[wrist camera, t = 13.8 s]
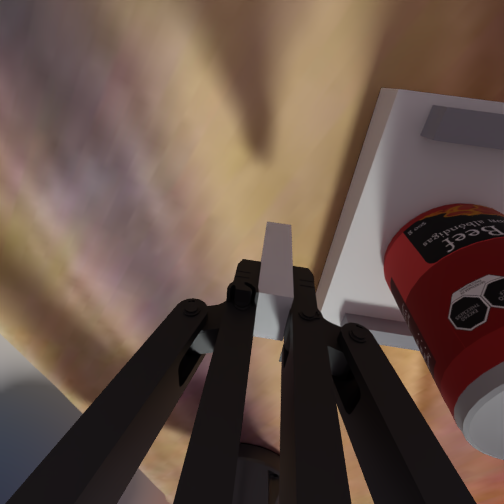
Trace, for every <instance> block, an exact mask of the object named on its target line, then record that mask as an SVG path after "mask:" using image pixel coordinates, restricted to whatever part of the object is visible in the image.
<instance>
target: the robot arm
mask: <svg viewBox="0 0 504 504" xmlns="http://www.w3.org/2000/svg"><path fill="white" fill-rule="evenodd" d="M253 336H255V337H261V338H268V339H274V340H280V341H283V337H284V345H283V348H282V352H281V356H280V360H279V361H280V362H282V369H281V422H280V456H278V455H277V454H275V453H273V452H271V451H269V450H267V449H264V448H261V447H257V446H253V445H247V444H240V436H241V428H242V420H243V412H244V404H245V396H246V388H247V380H248V372H249V364H250V356H251V348H252V340H253ZM212 352H213V355H212V358H211V362H210V366H209V370H208V374H207V377H206V381H205V385H204V389H203V393H202V396H201V400H200V404H199V408H198V411H197V415H196V419H195V423H194V427H193V430H192V434H191V438H190V442H189V446H188V449H187V453H186V457H185V461H184V464H183V468H182V472H181V476H180V480H179V483H178V487H177V491H176V495H175V499H174V502H173V504H351V498H350V491H349V485H348V478H347V472H346V465H345V458H344V452H343V445H342V439H341V432H340V425H339V419H338V412H337V406H338V409H339V412H340V414H341V417H342V420H343V422H344V425H345V427H346V430H347V433H348V435H349V438H350V441H351V443H352V446H353V449H354V451H355V454H356V457H357V459H358V462H359V464H360V467H361V470H362V472H363V475H364V478H365V480H366V483H367V486H368V488H369V491H370V494H371V496H372V499H373V501H374V504H476V502H475V500H474V499H473V497H472V496H471V494H470V492H469V491H468V489H467V487H466V486H465V484H464V482H463V481H462V479H461V478H460V476H459V474H458V473H457V471H456V469H455V468H454V466H453V465H452V463H451V461H450V460H449V458H448V456H447V455H446V453H445V452H444V450H443V448H442V447H441V445H440V443H439V442H438V440H437V438H436V437H435V435H434V434H433V432H432V430H431V429H430V427H429V425H428V424H427V422H426V421H425V419H424V417H423V416H422V414H421V412H420V411H419V409H418V408H417V406H416V404H415V403H414V401H413V399H412V398H411V396H410V394H409V393H408V391H407V390H406V388H405V386H404V385H403V383H402V381H401V380H400V378H399V377H398V375H397V373H396V372H395V370H394V368H393V367H392V365H391V364H390V362H389V360H388V359H387V357H386V355H385V354H384V352H383V350H382V349H381V347H380V346H379V344H378V342H377V341H376V339H375V337H374V336H373V334H372V333H371V332H370V331H369V330H368V329H367V328H366V327H364V326H363V325H360V324H358V323H351V322H350V323H346V324H344V325H343V326H342V327H340V326H338V325H335V324H333V323H331V322H329V321H327V320H326V319H324V318H323V316H322V313H321V312H320V311H319V310H318V307H317V300H316V293H315V286H314V278H313V274H312V273H311V271H310V270H309V269H308V268H303V267H296V266H293V263H292V234H291V225H287V224H281V223H274V222H267V225H266V232H265V238H264V245H263V251H262V258H261V262H259V261H252V260H246V259H243V260H242V261H241V262H240V263H239V264H238V266H237V270H236V274H235V278H234V281H233V282H232V283H230V284H229V286H228V288H227V300H226V301H225V302H223V303H221V304H219V305H213V306H207V305H206V304H205V302H203V301H201V300H200V299H194V298H193V299H186V300H184V301H181V302H180V303H179V304H178V305H177V306H176V307H175V308H174V309H173V310H172V312H171V313H170V314H169V315H168V316H167V317H166V319H165V320H164V321H163V322H162V323H161V324H160V325H159V327H158V328H157V329H156V330H155V331H154V332H153V334H152V335H151V336H150V337H149V338H148V339H147V341H146V342H145V343H144V344H143V345H142V346H141V347H140V349H139V350H138V351H137V352H136V353H135V354H134V356H133V357H132V358H131V359H130V360H129V361H128V362H127V364H126V365H125V366H124V367H123V368H122V369H121V371H120V372H119V373H118V374H117V375H116V376H115V378H114V379H113V380H112V381H111V382H110V383H109V384H108V386H107V387H106V388H105V389H104V390H103V391H102V393H101V394H100V395H99V396H98V397H97V398H96V400H95V401H94V402H93V403H92V404H91V405H90V406H89V408H88V409H87V410H86V411H85V412H84V413H83V415H82V416H81V417H80V418H79V419H78V421H76V423H75V424H74V425H73V426H72V428H70V430H69V431H68V432H67V433H66V434H65V435H64V437H63V438H62V439H61V440H60V441H59V442H58V444H57V445H56V446H55V447H54V448H53V449H52V450H51V452H50V453H49V454H48V455H47V456H46V457H45V459H44V460H43V461H42V462H41V463H40V464H39V465H38V467H37V468H36V469H35V470H34V471H33V473H32V474H31V475H30V476H29V477H28V478H27V479H26V481H25V482H24V483H23V484H22V485H21V486H20V488H19V489H18V490H17V491H16V492H15V493H14V494H13V495H12V497H11V498H10V499H9V500H8V501H7V502H6V504H117V503H118V501H119V499H120V497H121V496H122V494H123V492H124V491H125V489H126V487H127V485H128V484H129V482H130V481H131V479H132V477H133V476H134V474H135V472H136V471H137V469H138V467H139V466H140V464H141V462H142V461H143V459H144V457H145V456H146V454H147V452H148V450H149V449H150V447H151V445H152V444H153V442H154V440H155V439H156V437H157V435H158V434H159V432H160V430H161V429H162V427H163V425H164V424H165V422H166V420H167V419H168V417H169V415H170V414H171V412H172V410H173V409H174V407H175V405H176V404H177V402H178V400H179V398H180V397H181V395H182V393H183V392H184V390H185V388H186V387H187V385H188V383H189V382H190V380H191V378H192V377H193V375H194V373H195V372H196V370H197V368H198V367H199V365H200V363H201V362H202V360H203V358H204V357H205V355H206V353H212ZM336 404H337V406H336Z"/></svg>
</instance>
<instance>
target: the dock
mask: <svg viewBox="0 0 504 504" xmlns="http://www.w3.org/2000/svg"><path fill="white" fill-rule="evenodd" d="M457 203H463V204H475V205H481V206H485V207H489V208H493V209H495V210H497V211H498V212H500V213H502V214H504V103H503V102H496V101H488V100H480V99H472V98H465V97H457V96H449V95H441V94H434V93H426V92H418V91H411V90H403V89H392V88H381V90H380V93H379V97H378V100H377V103H376V106H375V109H374V112H373V115H372V119H371V122H370V125H369V128H368V131H367V134H366V137H365V141H364V144H363V147H362V150H361V153H360V156H359V159H358V163H357V166H356V169H355V172H354V175H353V178H352V181H351V185H350V188H349V191H348V194H347V197H346V200H345V203H344V207H343V210H342V213H341V216H340V219H339V222H338V225H337V229H336V232H335V235H334V238H333V241H332V244H331V247H330V250H329V254H328V257H327V260H326V263H325V266H324V269H323V272H322V276H321V279H320V282H319V285H318V288H317V291H316V300H317V307H318V310H319V311H320V312H321V313H322V316H323V318H324V319H326V320H327V321H329V322H331V323H333V324H335V325H338V326H340V327H342V326H343V325H344V324H346V323H350V322H351V323H358V324H360V325H363V326H364V327H366V328H367V329H368V330H369V331H370V332H371V333H372V334H373V336H374V337H375V339H376V341H377V342H378V344H379V345H385V346H392V347H398V348H404V349H411V350H417V351H420V350H419V348H418V346H417V344H416V342H415V340H414V338H413V336H412V334H411V332H410V330H409V328H408V326H407V324H406V322H405V320H404V317H403V315H402V313H401V311H400V309H399V307H398V305H397V303H396V301H395V299H394V297H393V295H392V293H391V291H390V289H389V287H388V285H387V282H386V280H385V277H384V256H385V253H386V250H387V247H388V245H389V243H390V242H391V240H392V238H393V237H394V236H395V235H396V233H397V232H398V231H399V230H400V229H401V228H402V227H403V226H404V225H406V224H407V223H408V222H409V221H410V220H412V219H414V218H415V217H417V216H418V215H420V214H422V213H424V212H426V211H429V210H431V209H433V208H437V207H440V206H444V205H449V204H457Z"/></svg>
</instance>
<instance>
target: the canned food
mask: <svg viewBox="0 0 504 504" xmlns="http://www.w3.org/2000/svg"><path fill="white" fill-rule="evenodd" d="M384 277H385V280H386V282H387V285H388V287H389V289H390V291H391V293H392V295H393V297H394V299H395V301H396V303H397V305H398V307H399V309H400V311H401V313H402V315H403V317H404V320H405V322H406V324H407V326H408V328H409V330H410V332H411V334H412V336H413V338H414V340H415V342H416V344H417V346H418V348H419V350H420V352H421V354H422V356H423V358H424V360H425V362H426V364H427V366H428V368H429V371H430V373H431V375H432V377H433V379H434V381H435V383H436V385H437V387H438V389H439V391H440V393H441V395H442V397H443V399H444V401H445V403H446V404H447V406H448V408H449V410H450V412H451V414H452V416H453V418H454V420H455V422H456V424H457V426H458V427H459V428H460V430H461V431H462V432H463V434H464V436H465V438H466V440H467V441H468V442H469V443H470V444H471V445H472V446H473V447H474V448H475V449H477V450H479V451H481V452H482V453H484V454H487V455H489V456H492V457H495V458H498V459H503V460H504V214H502V213H500V212H498V211H497V210H495V209H493V208H489V207H485V206H481V205H475V204H463V203H457V204H449V205H444V206H440V207H437V208H433V209H431V210H429V211H426V212H424V213H422V214H420V215H418V216H417V217H415V218H414V219H412V220H410V221H409V222H408V223H407V224H406V225H404V226H403V227H402V228H401V229H400V230H399V231H398V232H397V233H396V235H395V236H394V237H393V238H392V240H391V242H390V243H389V245H388V247H387V250H386V253H385V256H384Z"/></svg>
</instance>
